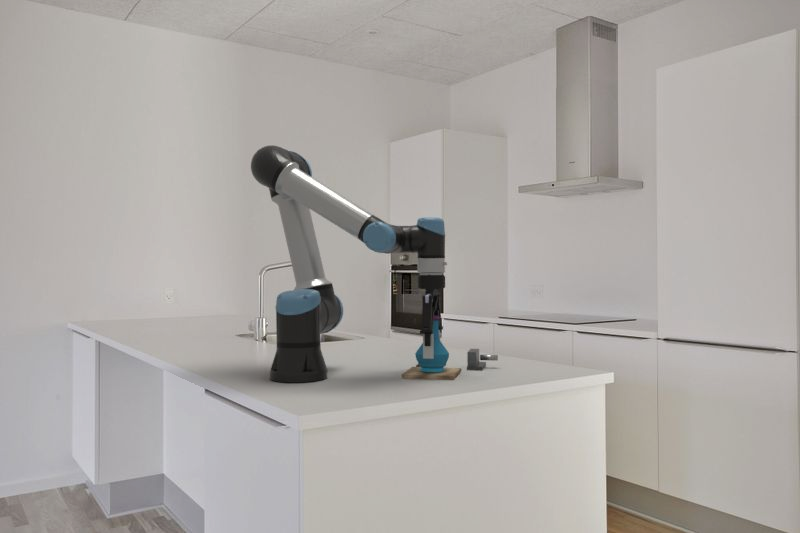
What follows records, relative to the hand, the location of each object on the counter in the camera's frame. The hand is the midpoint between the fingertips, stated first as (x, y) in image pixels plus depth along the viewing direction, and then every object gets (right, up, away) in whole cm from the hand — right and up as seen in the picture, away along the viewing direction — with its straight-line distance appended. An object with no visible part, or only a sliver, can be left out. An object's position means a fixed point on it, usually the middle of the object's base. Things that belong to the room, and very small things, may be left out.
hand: (432, 355), depth 183 cm
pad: (0, -5, 0) cm, 5 cm away
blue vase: (0, -4, 0) cm, 4 cm away
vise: (+8, -5, +13) cm, 17 cm away
